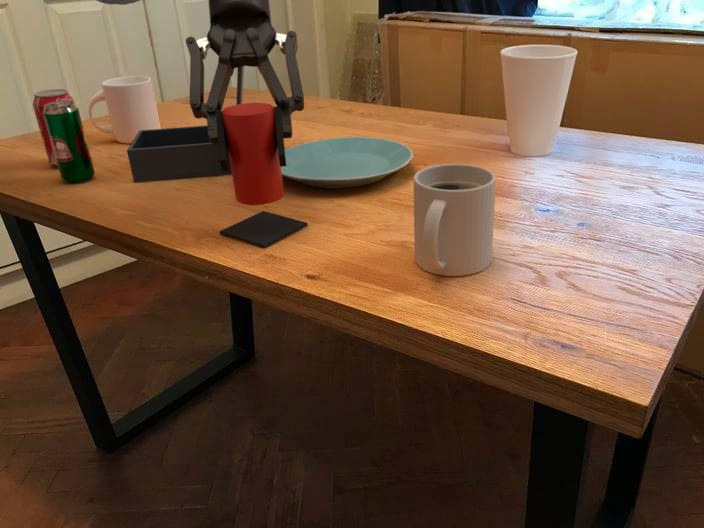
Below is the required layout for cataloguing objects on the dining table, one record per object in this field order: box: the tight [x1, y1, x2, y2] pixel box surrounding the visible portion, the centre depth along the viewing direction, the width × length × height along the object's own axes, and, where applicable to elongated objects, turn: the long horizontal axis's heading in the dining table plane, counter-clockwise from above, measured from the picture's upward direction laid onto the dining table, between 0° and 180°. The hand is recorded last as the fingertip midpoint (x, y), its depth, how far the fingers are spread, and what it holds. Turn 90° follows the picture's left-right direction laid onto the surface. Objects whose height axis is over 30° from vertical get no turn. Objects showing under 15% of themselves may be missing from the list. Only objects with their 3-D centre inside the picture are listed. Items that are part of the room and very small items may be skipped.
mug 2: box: [413, 163, 497, 277], centre depth 73 cm, size 11×10×10 cm
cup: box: [499, 44, 578, 158], centre depth 107 cm, size 12×12×16 cm
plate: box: [281, 136, 414, 189], centre depth 104 cm, size 22×22×3 cm
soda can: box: [43, 101, 96, 184], centre depth 103 cm, size 5×5×12 cm
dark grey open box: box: [126, 124, 232, 183], centre depth 108 cm, size 17×12×5 cm
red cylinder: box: [221, 102, 285, 206], centre depth 80 cm, size 6×6×11 cm
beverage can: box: [32, 88, 76, 167], centre depth 111 cm, size 6×6×12 cm
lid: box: [235, 66, 245, 105], centre depth 104 cm, size 17×12×4 cm
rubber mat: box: [219, 210, 308, 249], centre depth 85 cm, size 8×8×1 cm
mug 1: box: [87, 75, 162, 145], centre depth 123 cm, size 9×12×11 cm
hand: (253, 163), depth 77 cm, fingers closed on red cylinder, 6 cm apart
